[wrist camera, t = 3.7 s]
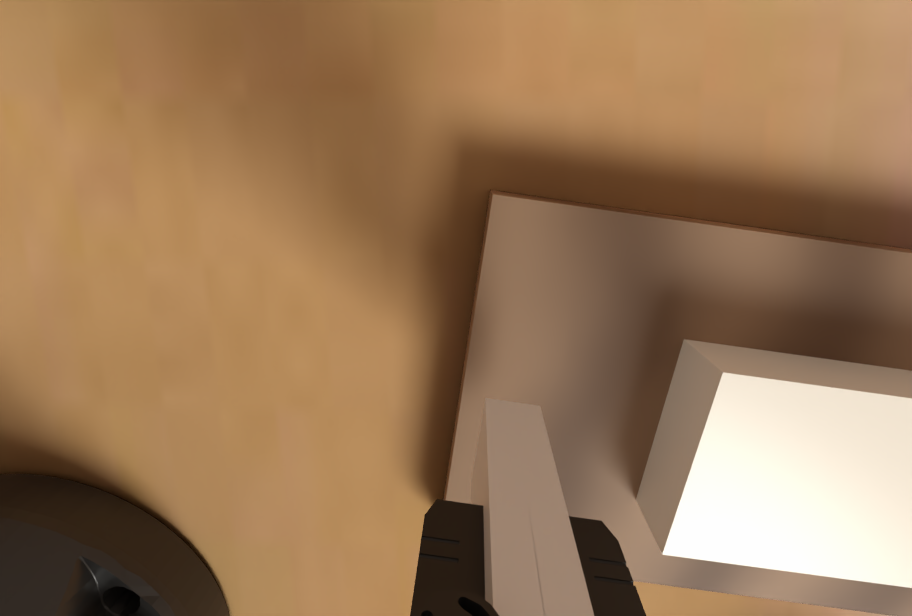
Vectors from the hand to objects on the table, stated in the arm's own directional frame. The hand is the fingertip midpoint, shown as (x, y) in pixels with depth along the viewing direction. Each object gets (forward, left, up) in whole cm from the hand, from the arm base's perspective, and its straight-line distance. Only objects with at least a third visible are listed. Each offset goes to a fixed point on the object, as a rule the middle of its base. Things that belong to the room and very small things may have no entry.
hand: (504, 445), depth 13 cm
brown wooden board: (+9, 0, -5) cm, 10 cm away
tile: (+10, 0, -3) cm, 10 cm away
